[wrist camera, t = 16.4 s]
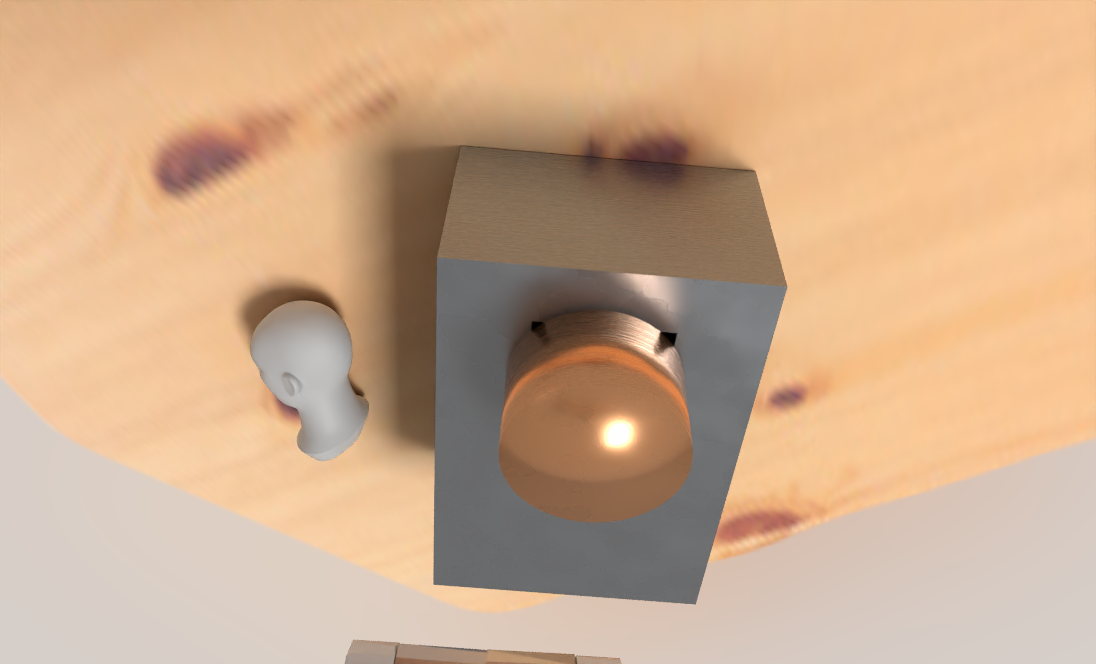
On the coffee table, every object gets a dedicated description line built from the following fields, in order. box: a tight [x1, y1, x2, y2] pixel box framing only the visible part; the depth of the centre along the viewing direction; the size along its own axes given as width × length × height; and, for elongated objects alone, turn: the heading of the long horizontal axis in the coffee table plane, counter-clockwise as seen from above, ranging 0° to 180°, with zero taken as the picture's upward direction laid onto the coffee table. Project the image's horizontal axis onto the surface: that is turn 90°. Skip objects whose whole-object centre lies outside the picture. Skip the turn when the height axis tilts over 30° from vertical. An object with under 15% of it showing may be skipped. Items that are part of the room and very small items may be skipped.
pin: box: [499, 310, 693, 523], centre depth 37 cm, size 7×7×11 cm
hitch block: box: [433, 146, 787, 604], centre depth 42 cm, size 12×18×8 cm, turn 176°
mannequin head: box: [250, 300, 369, 461], centre depth 45 cm, size 4×8×5 cm
